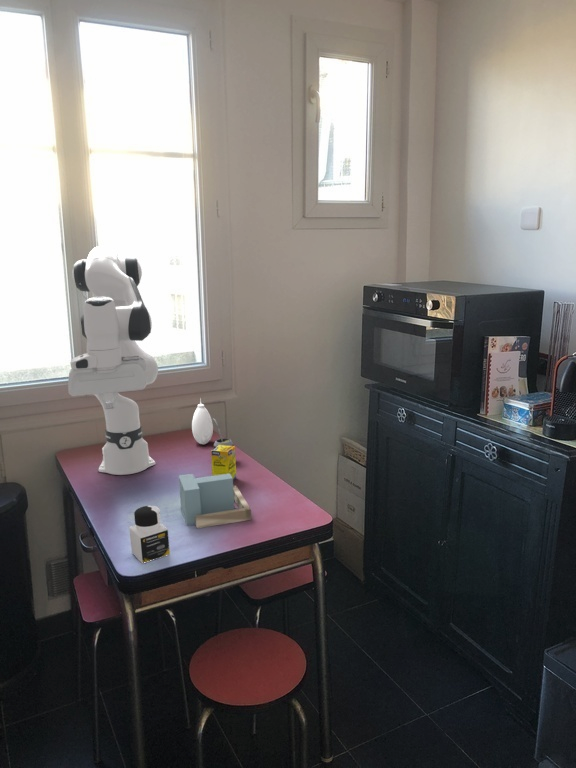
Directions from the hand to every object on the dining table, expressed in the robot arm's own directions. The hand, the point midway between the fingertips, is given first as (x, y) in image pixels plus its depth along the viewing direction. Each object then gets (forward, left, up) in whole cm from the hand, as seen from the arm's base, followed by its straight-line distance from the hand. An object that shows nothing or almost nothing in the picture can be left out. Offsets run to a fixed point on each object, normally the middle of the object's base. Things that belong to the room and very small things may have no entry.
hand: (109, 408), depth 170 cm
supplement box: (-14, +33, -31) cm, 48 cm away
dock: (+8, +26, -31) cm, 42 cm away
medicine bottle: (+27, +6, -31) cm, 42 cm away
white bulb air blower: (-54, +33, -31) cm, 71 cm away
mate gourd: (-31, +36, -31) cm, 57 cm away
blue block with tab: (+8, +24, -31) cm, 40 cm away
